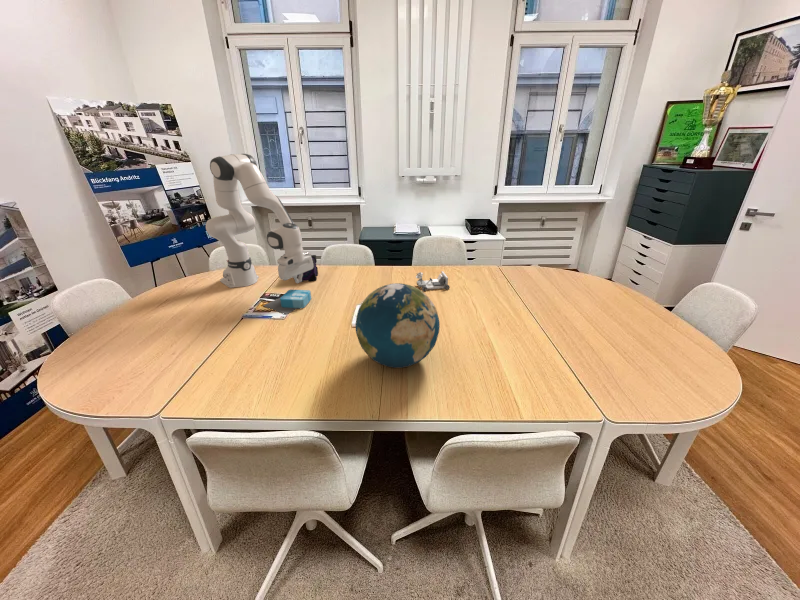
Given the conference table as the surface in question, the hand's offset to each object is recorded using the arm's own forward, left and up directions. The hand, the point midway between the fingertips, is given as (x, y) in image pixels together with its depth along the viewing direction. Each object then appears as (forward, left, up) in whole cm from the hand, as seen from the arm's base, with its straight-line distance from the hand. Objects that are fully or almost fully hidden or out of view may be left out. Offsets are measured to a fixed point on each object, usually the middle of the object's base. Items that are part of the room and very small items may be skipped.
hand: (298, 282), depth 178 cm
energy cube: (-18, +21, -9) cm, 29 cm away
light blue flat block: (+1, 0, -6) cm, 6 cm away
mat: (0, -11, -9) cm, 14 cm away
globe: (+74, -20, -9) cm, 77 cm away
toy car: (+51, +48, -9) cm, 71 cm away
